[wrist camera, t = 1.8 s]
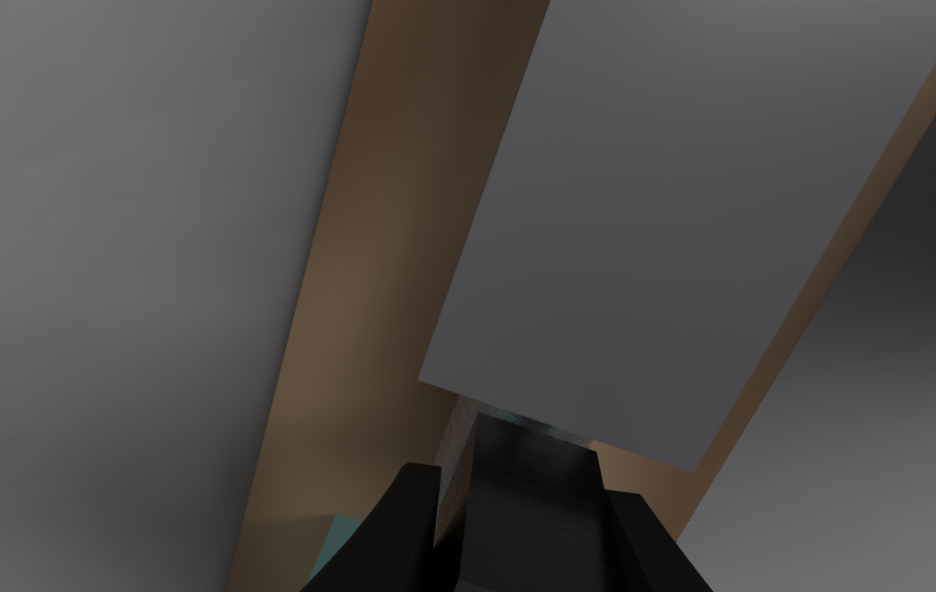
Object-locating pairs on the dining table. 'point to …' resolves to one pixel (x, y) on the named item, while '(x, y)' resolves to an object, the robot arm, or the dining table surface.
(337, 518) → the teal cradle
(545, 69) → the sleeve
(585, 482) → the silver elongated piece
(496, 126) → the walnut board
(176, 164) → the dining table surface
